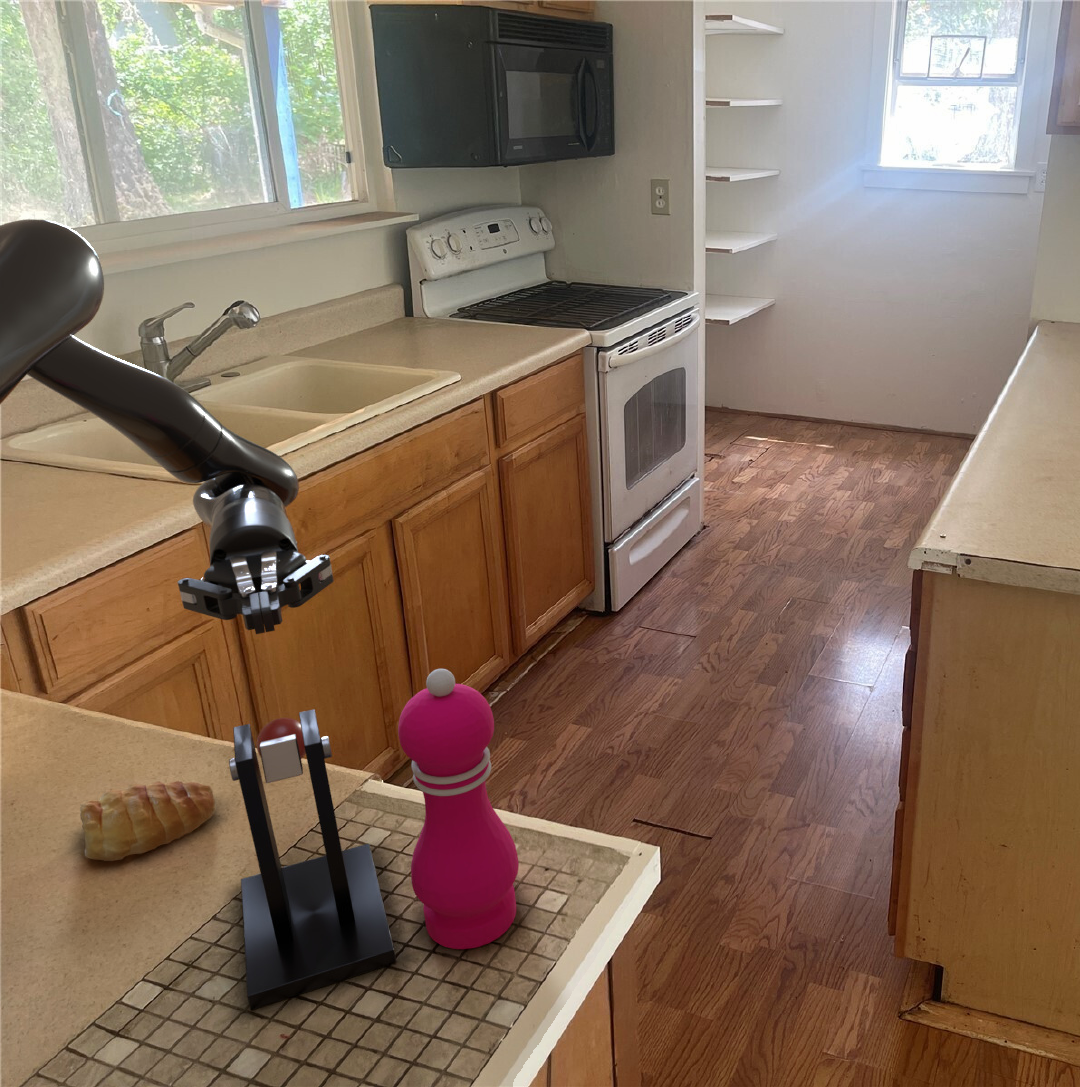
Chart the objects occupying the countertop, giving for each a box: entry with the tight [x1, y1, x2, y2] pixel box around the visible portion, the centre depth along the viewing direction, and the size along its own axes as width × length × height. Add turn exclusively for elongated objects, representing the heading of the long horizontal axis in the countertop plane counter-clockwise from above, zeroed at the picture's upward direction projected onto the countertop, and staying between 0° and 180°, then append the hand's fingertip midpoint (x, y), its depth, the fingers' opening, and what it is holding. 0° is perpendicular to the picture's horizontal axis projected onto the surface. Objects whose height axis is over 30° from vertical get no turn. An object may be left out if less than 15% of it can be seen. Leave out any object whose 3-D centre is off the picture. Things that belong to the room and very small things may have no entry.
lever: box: [256, 717, 306, 784], centre depth 71 cm, size 13×4×4 cm, turn 25°
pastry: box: [79, 780, 217, 862], centre depth 80 cm, size 9×7×4 cm
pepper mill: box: [397, 668, 520, 950], centre depth 68 cm, size 7×7×20 cm
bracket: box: [228, 709, 397, 1011], centre depth 68 cm, size 12×9×16 cm
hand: (263, 622), depth 82 cm, fingers closed
